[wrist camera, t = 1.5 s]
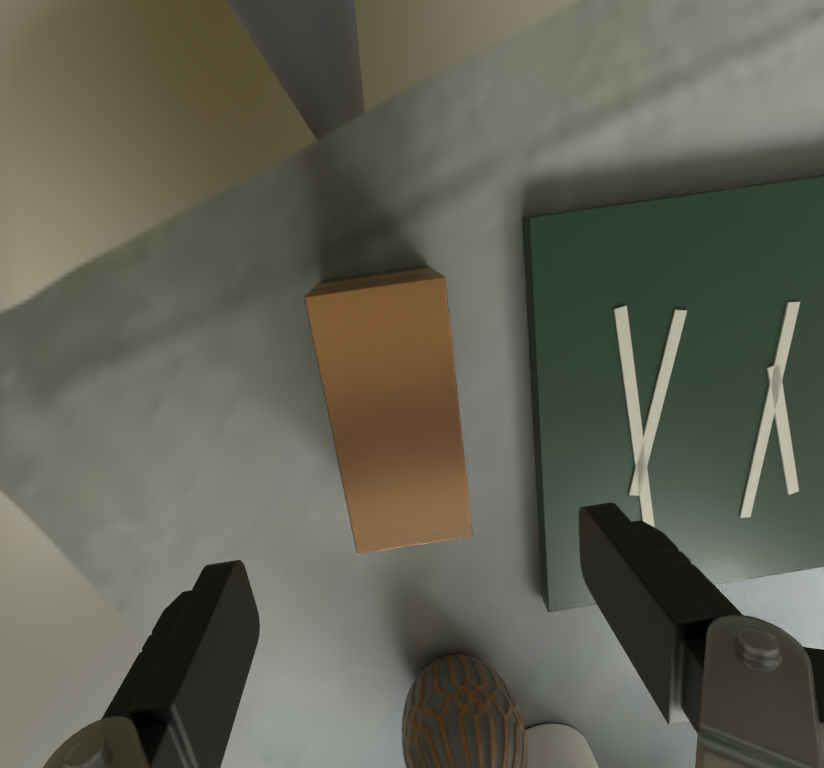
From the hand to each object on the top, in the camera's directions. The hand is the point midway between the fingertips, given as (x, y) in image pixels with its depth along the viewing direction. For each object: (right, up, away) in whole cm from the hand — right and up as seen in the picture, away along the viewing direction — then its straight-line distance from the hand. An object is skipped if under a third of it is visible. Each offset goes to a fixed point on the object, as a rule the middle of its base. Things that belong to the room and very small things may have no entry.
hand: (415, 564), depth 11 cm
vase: (+3, -14, +19) cm, 24 cm away
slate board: (+15, +3, +14) cm, 21 cm away
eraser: (-1, +4, +12) cm, 13 cm away
